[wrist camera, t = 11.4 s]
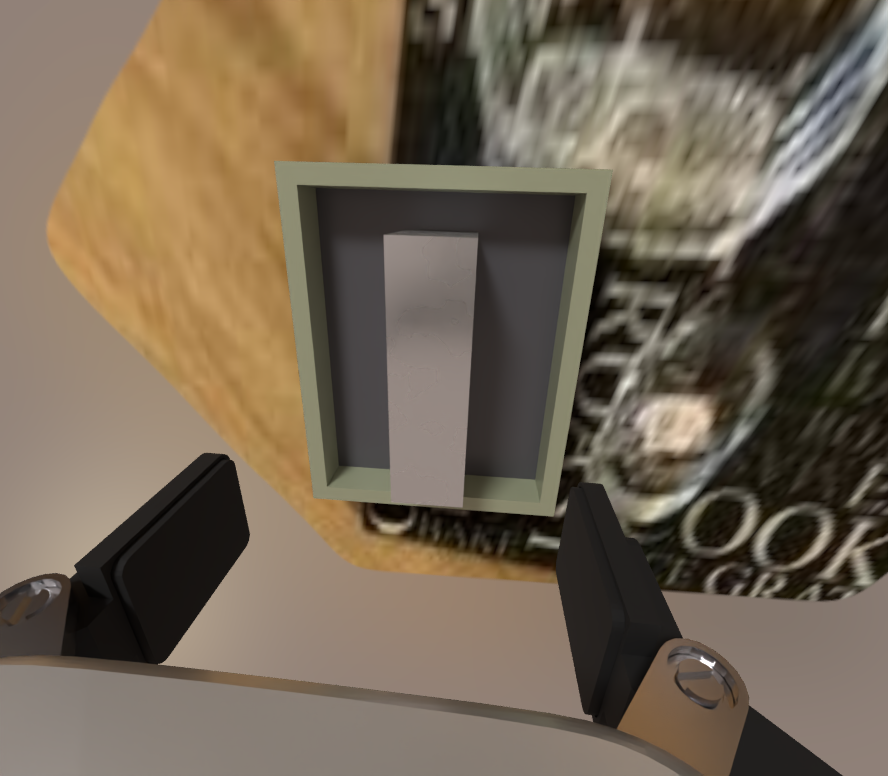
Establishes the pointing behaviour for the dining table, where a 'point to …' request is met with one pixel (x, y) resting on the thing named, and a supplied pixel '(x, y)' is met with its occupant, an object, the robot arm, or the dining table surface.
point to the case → (494, 324)
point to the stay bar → (429, 361)
